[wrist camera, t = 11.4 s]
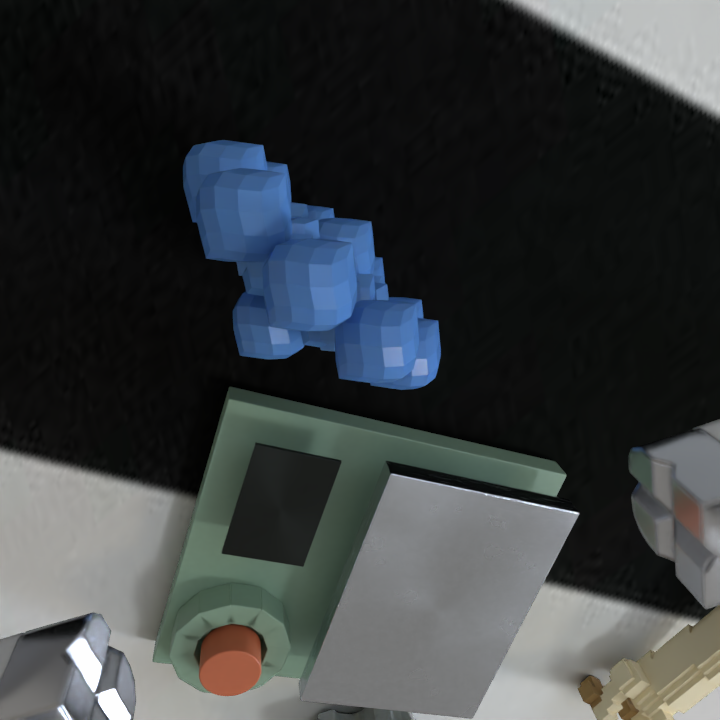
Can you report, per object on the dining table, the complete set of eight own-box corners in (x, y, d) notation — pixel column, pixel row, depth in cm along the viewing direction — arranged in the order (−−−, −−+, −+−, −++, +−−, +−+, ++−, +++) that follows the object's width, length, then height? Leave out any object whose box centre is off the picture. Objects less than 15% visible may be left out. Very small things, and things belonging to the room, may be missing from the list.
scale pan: (184, 669, 33) (182, 689, 32) (258, 432, 28) (259, 446, 27) (466, 700, 37) (472, 719, 36) (569, 498, 32) (580, 513, 31)
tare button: (194, 664, 33) (192, 693, 32) (208, 619, 32) (207, 647, 31) (251, 670, 34) (252, 699, 32) (267, 627, 33) (268, 654, 31)
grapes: (133, 213, 27) (55, 299, 16) (243, 90, 26) (241, 91, 15) (331, 382, 31) (377, 541, 20) (433, 284, 30) (539, 395, 19)
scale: (155, 642, 35) (147, 687, 33) (229, 385, 30) (227, 414, 28) (449, 677, 40) (464, 720, 38) (555, 461, 35) (581, 492, 32)
